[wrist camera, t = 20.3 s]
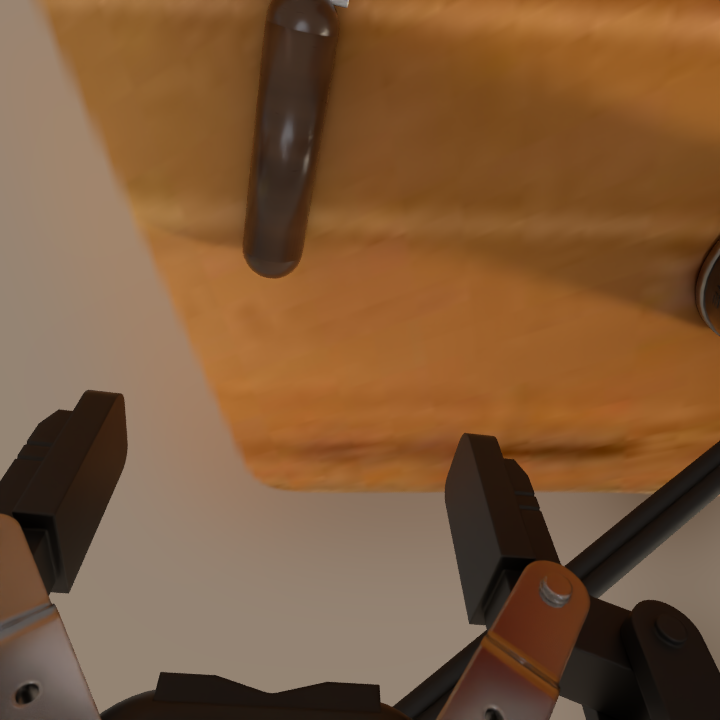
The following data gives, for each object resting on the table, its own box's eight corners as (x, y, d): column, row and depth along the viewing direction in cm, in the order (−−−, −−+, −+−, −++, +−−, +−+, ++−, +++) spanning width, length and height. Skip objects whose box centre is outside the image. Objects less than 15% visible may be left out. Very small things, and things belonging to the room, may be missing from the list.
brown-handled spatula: (302, 267, 32) (300, 294, 29) (239, 256, 31) (232, 282, 29) (385, -219, 21) (392, -241, 18) (290, -248, 20) (284, -275, 18)
